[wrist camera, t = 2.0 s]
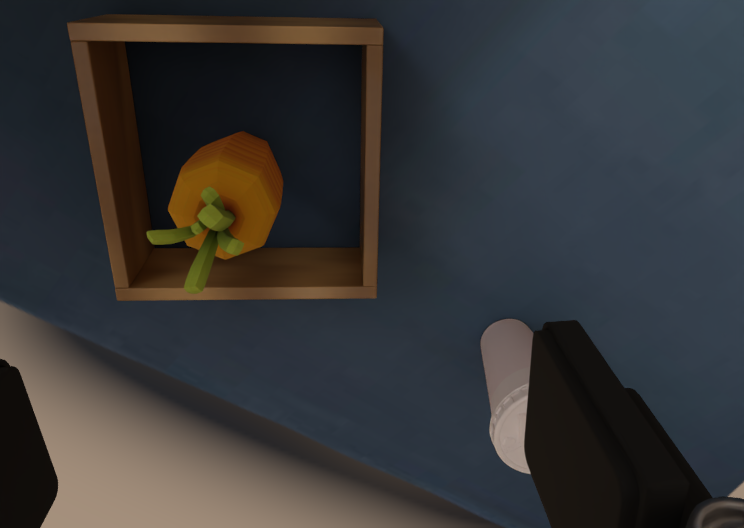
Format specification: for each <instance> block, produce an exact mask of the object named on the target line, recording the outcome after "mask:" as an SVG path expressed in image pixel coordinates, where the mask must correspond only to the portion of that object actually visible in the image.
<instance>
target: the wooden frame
mask: <svg viewBox="0 0 744 528" xmlns="http://www.w3.org/2000/svg"><path fill="white" fill-rule="evenodd" d="M67 27H68V32H69V38H70V40H71V47H72V53H73V58H74V64H75V69H76V75H77V80H78V86H79V92H80V97H81V103H82V108H83V114H84V119H85V125H86V130H87V136H88V141H89V147H90V152H91V158H92V163H93V169H94V174H95V180H96V185H97V191H98V196H99V202H100V207H101V213H102V218H103V224H104V229H105V235H106V240H107V246H108V251H109V257H110V262H111V268H112V273H113V279H114V284H115V291H116V296H117V300H118V301H132V300H241V299H350V298H376V297H377V266H378V227H379V188H380V149H381V110H382V72H383V33H384V28H383V27H382V26H381V24H380V23H379V22H378V20H377V19H364V18H304V17H244V16H184V15H124V14H106V15H101V16H96V17H91V18H86V19H81V20H77V21H72V22H68V23H67ZM125 41H128V42H198V43H269V44H339V45H362V80H361V167H360V247H352V248H256V249H254V250H251V251H248V252H245V253H243V254H240V255H238V256H234V257H232V258H229V259H226V260H225V259H222V258H219V257H216V256H215V257H214V260H213V263H212V266H211V269H210V273H209V276H208V279H207V282H206V285H205V287H204V289H203V291H202V292H200V293H197V294H190V293H188V292H186V290H185V289H184V285H185V281H186V278H187V275H188V273H189V271H190V268H191V266H192V264H193V262H194V260H195V258H196V256H197V254H198V252H199V250H198V249H195V248H155V246H154V244H152V243H151V242H150V241H149V239H148V238H147V233H146V232H147V231H152V226H151V219H150V212H149V205H148V198H147V191H146V185H145V178H144V171H143V164H142V157H141V150H140V143H139V136H138V130H137V123H136V116H135V109H134V102H133V95H132V88H131V81H130V75H129V68H128V61H127V54H126V47H125Z"/></svg>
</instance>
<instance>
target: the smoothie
mask: <svg viewBox="0 0 744 528" xmlns="http://www.w3.org/2000/svg"><path fill="white" fill-rule="evenodd" d="M533 334H534V333H533V332H532V331H531V330H530V329H529V327H528V326H527V325H526V324H524V323H523V322H521V321H519V320H516V319H503V320H500V321H497V322H495V323H493V324H492V325H490V326H489V327H488V328H487V329H486V330H485V332H484V333H483V335H482V337H481V342H480V345H481V352H482V358H483V364H484V370H485V376H486V382H487V388H488V394H489V400H490V406H491V414H492V417H491V420H490V430H489V432H490V436H491V440H492V443H493V444H494V446H495V449H496V452H497V454H498V455H499V457H500V458H501V459H502V460H503V462H504V463H506V464H507V465H508V466H510V467H511V468H513V469H515V470H518V471H520V472H523V473H528V474H531V473H530V470H529V468H528V465H527V462H526V458H525V452H524V438H525V425H526V413H527V401H528V388H529V376H530V364H531V351H532V339H533Z"/></svg>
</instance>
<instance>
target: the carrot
mask: <svg viewBox="0 0 744 528" xmlns="http://www.w3.org/2000/svg"><path fill="white" fill-rule="evenodd" d="M282 192H283V179H282V175H281V172H280V169H279V167H278V165H277V163H276V160H275V158H274V156H273V154H272V151H271V149H270V147H269V145H268V143H267V141H265V140H263V139H260V138H258V137H256V136H253V135H251V134H249V133H246V132H244V131H242V132H238V133H235V134H233V135H230V136H228V137H225V138H223V139H220V140H217V141H215V142H212V143H210V144H208V145H205V146H203V147H201V148H200V149H199V150H198V151H197V152H196V153H195V154H194V155H193V156H191V158H190V159H189V160H188V161H187V162H186V163H185V164H184V165H183V167H182V168H181V171H180V173H179V176H178V179H177V182H176V185H175V188H174V191H173V194H172V197H171V200H170V203H169V206H168V212H169V213H170V215H171V217H172V219H173V221H174V222H175V224H176V226H177V229H170V230H152V231H147V232H146V233H147V238H148V239H149V241H150V242H151V243H152V244H156V245H163V244H173V243H177V242H181V241H184V240H185V242H186V244H187V246H190V247H192V248H195V249H198V250H199V252H198V254H197V256H196V258H195V260H194V262H193V264H192V266H191V268H190V271H189V273H188V275H187V278H186V281H185V285H184V289H185V290H186V292H188V293H190V294H197V293H200V292H202V291H203V289H204V287H205V285H206V282H207V279H208V276H209V273H210V269H211V266H212V263H213V260H214V257H215V256H216V257H219V258H222V259H225V260H226V259H229V258H232V257H234V256H238V255H240V254H243V253H245V252H248V251H251V250H254V249H256V248H259V247H262V246H263V245H264V244H265V242H266V240H267V237H268V235H269V232H270V230H271V228H272V225H273V223H274V221H275V218H276V216H277V213H278V211H279V209H280V205H281V199H282Z"/></svg>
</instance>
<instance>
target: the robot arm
mask: <svg viewBox="0 0 744 528" xmlns="http://www.w3.org/2000/svg"><path fill="white" fill-rule="evenodd" d="M524 452H525V458H526V462H527V465H528V468H529V470H530V473H531V475H532V478H533V481H534V483H535V486H536V488H537V491H538V494H539V496H540V499H541V501H542V504H543V506H544V509H545V512H546V514H547V517H548V519H549V522H550V525H551V527H552V528H744V499H741V498H733V497H717V498H712V496H711V495H710V493H709V492H708V491H707V489H706V488H705V486H704V485H703V484H702V482H701V481H700V479H699V478H698V476H697V475H696V474H695V472H694V471H693V469H692V468H691V467H690V465H689V464H688V462H687V461H686V460H685V458H684V457H683V455H682V454H681V453H680V451H679V450H678V448H677V447H676V446H675V444H674V443H673V441H672V440H671V439H670V437H669V436H668V434H667V433H666V432H665V430H664V429H663V427H662V426H661V425H660V423H659V422H658V420H657V419H656V417H655V416H654V415H653V413H652V412H651V410H650V409H649V408H648V406H647V405H646V403H645V402H644V401H643V399H642V398H641V396H640V395H639V394H638V393H637V392H636V391H635V390H633V389H631V388H624V387H623V386H622V384H621V383H620V381H619V380H618V378H617V377H616V376H615V374H614V373H613V371H612V370H611V368H610V367H609V365H608V364H607V362H606V361H605V360H604V358H603V357H602V355H601V354H600V352H599V351H598V349H597V348H596V346H595V345H594V344H593V342H592V341H591V339H590V338H589V336H588V335H587V333H586V332H585V330H584V329H583V328H582V326H581V325H580V323H579V322H578V321H576V320H572V321H557V322H546V323H545V324H544V325H543V328H542V330H540V331H535V332H534V334H533V339H532V351H531V364H530V376H529V388H528V401H527V413H526V425H525V438H524ZM57 491H58V479H57V476H56V473H55V470H54V467H53V464H52V462H51V459H50V456H49V453H48V450H47V448H46V445H45V442H44V439H43V436H42V433H41V431H40V428H39V425H38V422H37V419H36V417H35V414H34V411H33V408H32V405H31V403H30V400H29V397H28V394H27V392H26V389H25V386H24V383H23V380H22V377H21V375H20V372H19V370H18V369H17V368H16V367H13V366H11V367H10V365H9V364H8V363H7V362H6V361H5V360H2V359H0V528H40V527H41V525H42V523H43V521H44V519H45V518H46V515H47V514H48V512H49V510H50V508H51V506H52V504H53V502H54V500H55V498H56V495H57Z"/></svg>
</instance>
